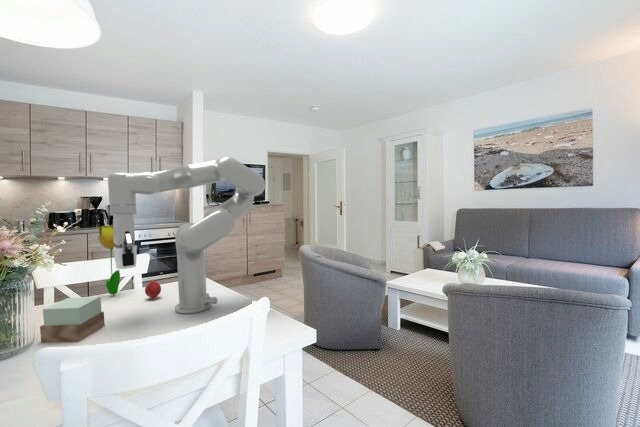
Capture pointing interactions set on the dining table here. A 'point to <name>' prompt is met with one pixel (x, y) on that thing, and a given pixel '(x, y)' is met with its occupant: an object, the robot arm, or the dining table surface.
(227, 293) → the dining table surface
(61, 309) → the tower top block
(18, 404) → the dining table surface
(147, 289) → the onion
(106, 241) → the flower
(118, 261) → the white cup
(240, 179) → the robot arm
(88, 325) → the tower base block
